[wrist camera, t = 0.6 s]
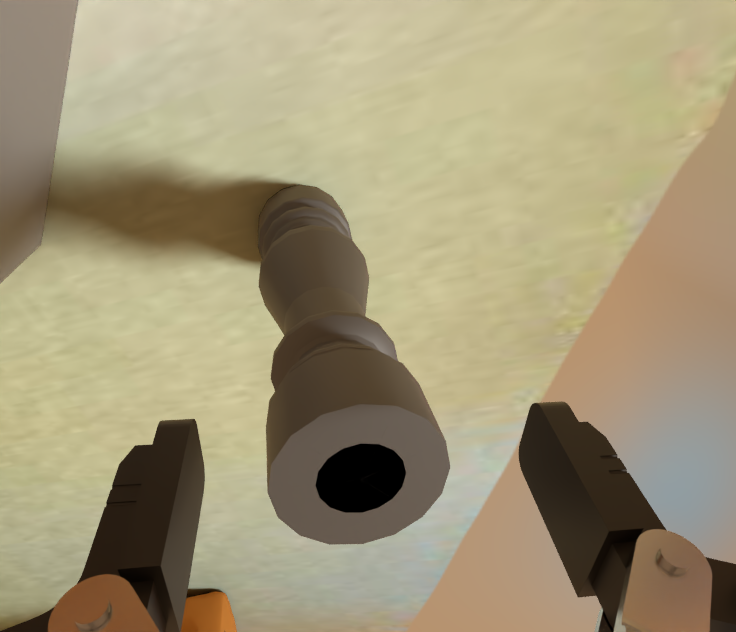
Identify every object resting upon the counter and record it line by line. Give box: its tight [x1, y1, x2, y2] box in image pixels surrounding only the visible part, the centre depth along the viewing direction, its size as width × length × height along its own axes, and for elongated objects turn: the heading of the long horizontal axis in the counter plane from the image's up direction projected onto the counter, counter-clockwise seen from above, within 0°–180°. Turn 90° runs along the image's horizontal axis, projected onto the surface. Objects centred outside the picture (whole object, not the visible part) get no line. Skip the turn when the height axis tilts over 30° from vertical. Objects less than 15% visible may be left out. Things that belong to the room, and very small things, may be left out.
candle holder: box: [258, 185, 450, 544], centre depth 28 cm, size 6×6×25 cm
